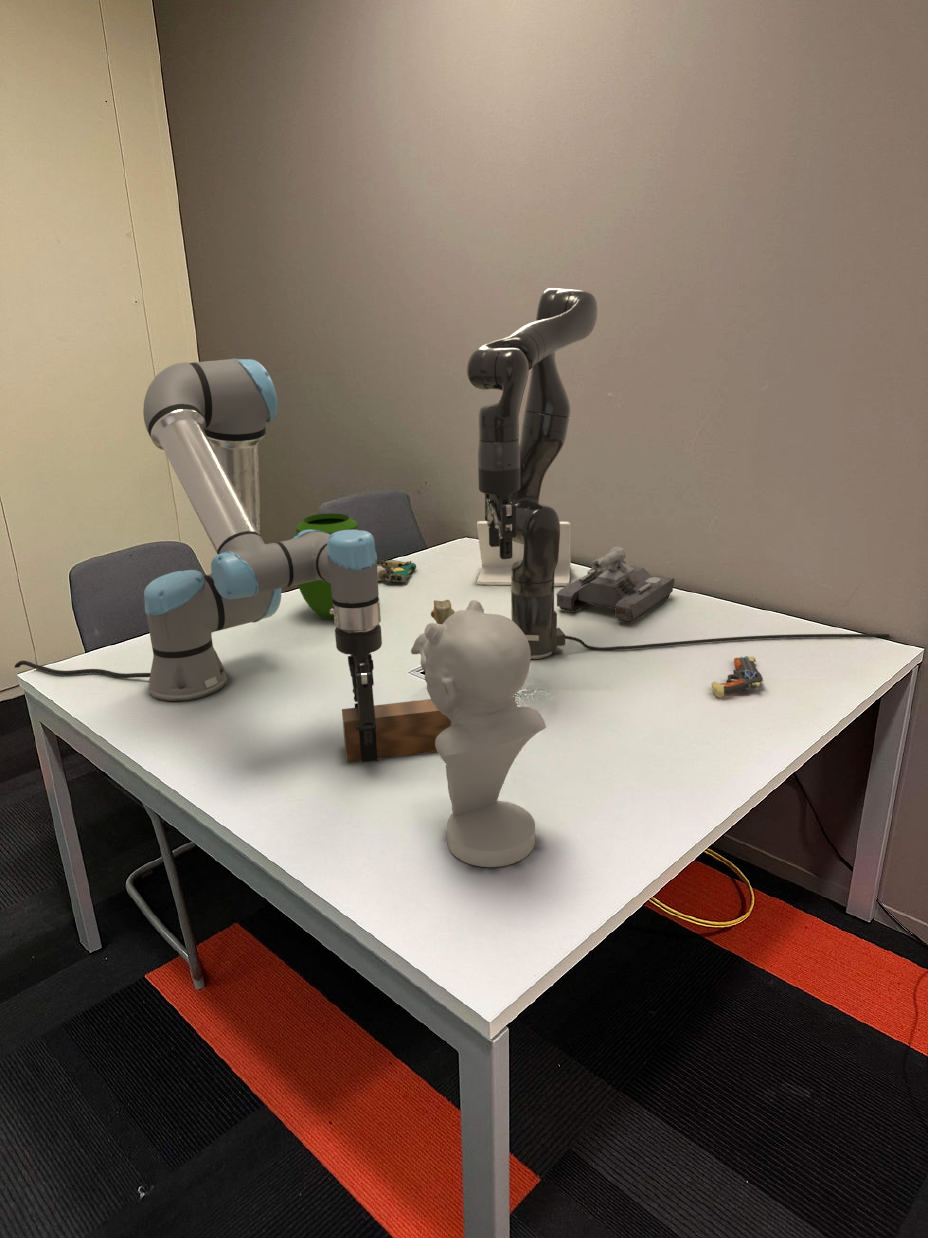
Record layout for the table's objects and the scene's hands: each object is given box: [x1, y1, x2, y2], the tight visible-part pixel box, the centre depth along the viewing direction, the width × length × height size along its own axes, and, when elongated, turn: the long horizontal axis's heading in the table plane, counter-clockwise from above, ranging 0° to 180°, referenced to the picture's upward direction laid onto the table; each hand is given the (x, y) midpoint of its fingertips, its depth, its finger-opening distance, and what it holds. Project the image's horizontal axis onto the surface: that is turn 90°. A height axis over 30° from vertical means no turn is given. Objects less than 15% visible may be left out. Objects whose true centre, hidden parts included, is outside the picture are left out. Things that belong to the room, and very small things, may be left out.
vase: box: [291, 512, 360, 620], centre depth 209 cm, size 20×20×24 cm
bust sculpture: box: [410, 599, 547, 868], centre depth 121 cm, size 16×24×35 cm
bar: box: [341, 698, 451, 764], centre depth 148 cm, size 25×5×8 cm, turn 101°
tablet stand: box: [476, 520, 572, 587], centre depth 236 cm, size 18×25×17 cm
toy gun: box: [711, 655, 765, 698], centre depth 171 cm, size 3×19×10 cm
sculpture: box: [430, 599, 456, 624], centre depth 177 cm, size 6×7×15 cm
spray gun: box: [377, 559, 417, 583], centre depth 241 cm, size 4×17×15 cm
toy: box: [556, 546, 676, 624], centre depth 212 cm, size 25×20×15 cm
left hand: (367, 748), depth 147 cm, fingers open, 8 cm apart
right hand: (500, 552), depth 158 cm, fingers open, 8 cm apart
